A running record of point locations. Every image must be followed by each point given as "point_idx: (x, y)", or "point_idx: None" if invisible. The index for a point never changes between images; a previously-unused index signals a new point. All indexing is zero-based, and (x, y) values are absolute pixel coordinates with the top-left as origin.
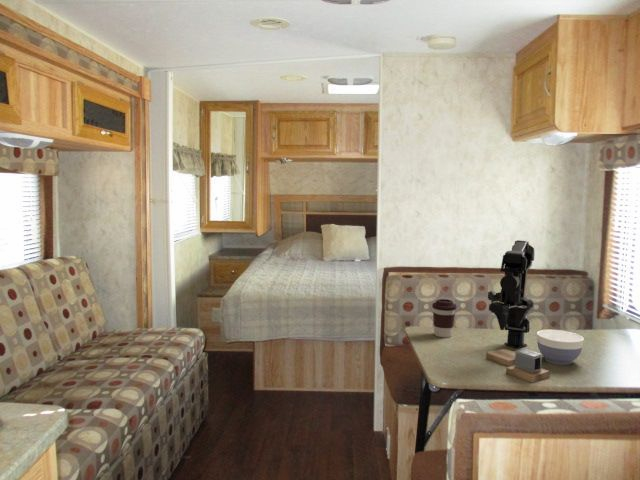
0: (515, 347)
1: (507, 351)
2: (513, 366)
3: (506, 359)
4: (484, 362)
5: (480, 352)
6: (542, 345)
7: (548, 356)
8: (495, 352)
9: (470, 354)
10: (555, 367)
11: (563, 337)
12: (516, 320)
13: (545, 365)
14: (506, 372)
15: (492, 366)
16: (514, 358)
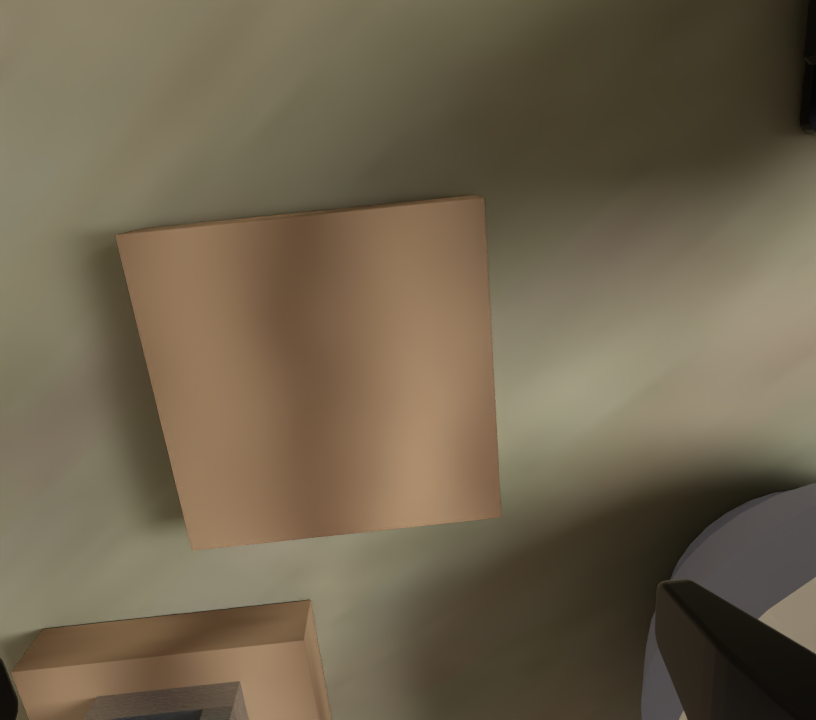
0: (802, 103)
1: (430, 313)
2: (109, 674)
3: (190, 512)
4: (25, 329)
5: (226, 7)
6: (672, 714)
7: (644, 665)
8: (247, 275)
9: (30, 7)
10: (584, 687)
11: None
12: (748, 710)
13: (553, 628)
14: (39, 639)
15: (34, 455)
16: (305, 523)
